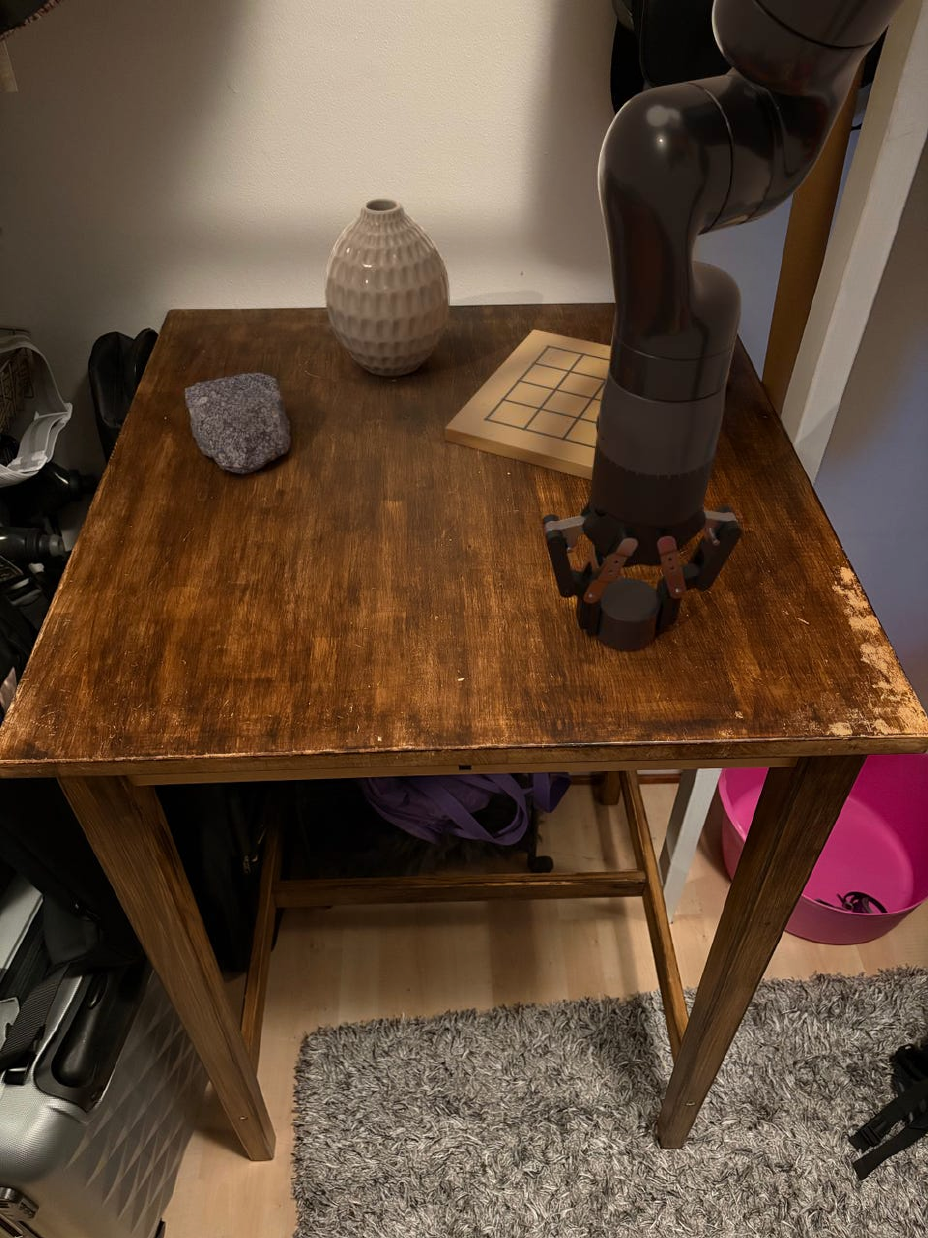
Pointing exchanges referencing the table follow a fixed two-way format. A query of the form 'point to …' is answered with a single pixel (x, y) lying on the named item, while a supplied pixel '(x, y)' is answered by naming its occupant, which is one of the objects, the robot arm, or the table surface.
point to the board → (539, 405)
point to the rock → (239, 421)
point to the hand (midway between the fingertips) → (624, 625)
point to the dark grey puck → (628, 614)
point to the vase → (387, 290)
